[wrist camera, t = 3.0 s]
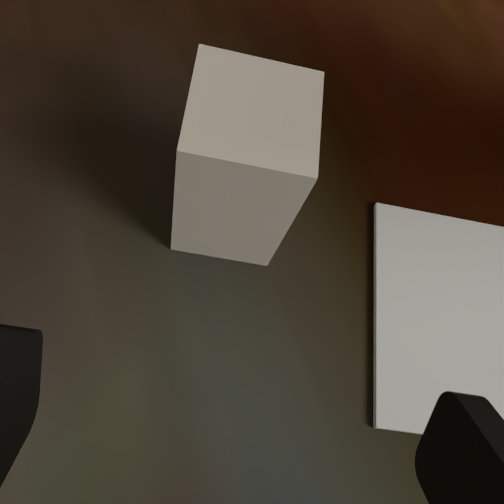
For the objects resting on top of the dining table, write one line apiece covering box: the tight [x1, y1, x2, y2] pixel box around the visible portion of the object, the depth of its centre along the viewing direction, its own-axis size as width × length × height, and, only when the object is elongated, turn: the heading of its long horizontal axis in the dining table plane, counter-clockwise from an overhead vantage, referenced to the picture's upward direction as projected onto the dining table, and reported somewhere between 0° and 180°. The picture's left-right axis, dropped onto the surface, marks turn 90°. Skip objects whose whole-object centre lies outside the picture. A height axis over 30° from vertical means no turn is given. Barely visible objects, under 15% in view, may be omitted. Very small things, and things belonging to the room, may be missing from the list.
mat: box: [373, 203, 504, 435], centre depth 29 cm, size 14×14×1 cm
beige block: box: [171, 44, 324, 266], centre depth 25 cm, size 6×6×10 cm
